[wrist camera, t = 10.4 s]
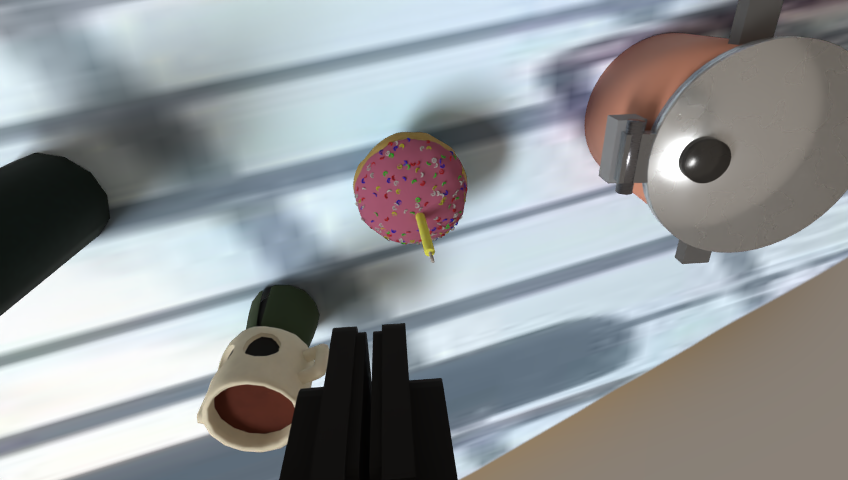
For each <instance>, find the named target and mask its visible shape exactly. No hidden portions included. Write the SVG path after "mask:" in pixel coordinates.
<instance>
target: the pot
mask: <svg viewBox="0 0 848 480" xmlns="http://www.w3.org/2000/svg"><path fill="white" fill-rule="evenodd" d="M783 1H784V0H738V5H737V9H736V13H735V17H734V21H733V25H732V29H731V33H730V37H729V39H727V38H719V37H710V36H702V35H694V34H685V33H666V34H660V35H656V36H652V37H650V38H647V39H644V40H642V41H640V42H638V43H636V44H635V45H633V46H631V47H630V48H628V49H627V50H625V51H624V52H623V53H622V54H620V55H619V56H618V57H617V58H616V59H615V60H614V61H613V62H612V63H611V64H610V65H609V66H608V67H607V68H606V70H605V71H604V72H603V74H602V75H601V76H600V78H599V80H598V82H597V83H596V85H595V87H594V89H593V91H592V93H591V96H590V99H589V102H588V105H587V109H586V115H585V136H586V141H587V145H588V147H589V150H590V152H591V154H592V156H593V158H594V159H595V161H596V162H597V163H598V165H599V166H600V170H599V176H600V177H601V178H602V179H603V180H605V181H606V182H607V183H617V182H616V181H615V180H614V174H615V168H616V162H617V155H618V149H619V143H620V137H621V131H625V130H626V125H627V120H628V119H642V120H645V121H646V123H645V128H644V131H648V130H651V128H652V126H653V124H654V122H655V120H656V118H657V116H658V115H659V113H660V111H661V110H662V108H663V107H664V105H665V104H666V102H667V101H668V100H669V98H670V97H671V96H672V95H673V94H674V92H675V91H676V90H677V89H678V88H679V86H681V85H682V84H683V83H684V82H685V81H686V80H687V79H688V78H689V77H690V76H691V75H692V74H693V73H694V72H696V71H697V70H698V69H700V68H701V67H702V66H703V65H705V64H706V63H708V62H709V61H711V60H712V59H714V58H716V57H717V56H719V55H720V54H722V53H724V52H726V51H729V50H731V49H733V48H735V47H737V46H740V45H743V44H745V43H748V42H751V41H755V40H759V39H764V38H769V37H773V36H774V32H775V29H776V25H777V22H778V18H779V15H780V11H781V8H782V4H783ZM633 193H634V194H635V195H637V196H638V197H639V198H640V199H642V200H643V201H644V202H645V203H647V201H646V198H645V195H644V192H643V186H642V183H634V187H633ZM711 252H712V251H706V250H703V249H699V248H696V247H693V246H691V245H689V244H686V243H684V242H683V241H681V240H680V239H679V243H678V247H677V251H676V255H675V258H676V259H677V260H678V261H680V262H681V263H682V264H689V263H706V262H709V259H710V255H711Z"/></svg>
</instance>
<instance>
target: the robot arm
mask: <svg viewBox="0 0 848 480" xmlns="http://www.w3.org/2000/svg"><path fill="white" fill-rule="evenodd" d="M279 480H458V479H457V472H456V466H455V459H454V453H453V446H452V440H451V433H450V427H449V420H448V414H447V407H446V401H445V395H444V388H443V382H442V378H436V379H423V380H409V374H408V359H407V344H406V329H405V323H401V324H386V325H382V331H375V332H373V357H372V381H371V371H370V361H369V351H368V342H367V333H366V332H361V333H358V329H357V327H342V328H333V330H332V336H331V343H330V349H329V356H328V363H327V369H326V376H325V382H324V387H316V388H303V389H300V390H299V392H298V396H297V400H296V404H295V409H294V414H293V418H292V423H291V428H290V432H289V437H288V442H287V446H286V451H285V456H284V460H283V465H282V469H281V474H280V479H279Z"/></svg>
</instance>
